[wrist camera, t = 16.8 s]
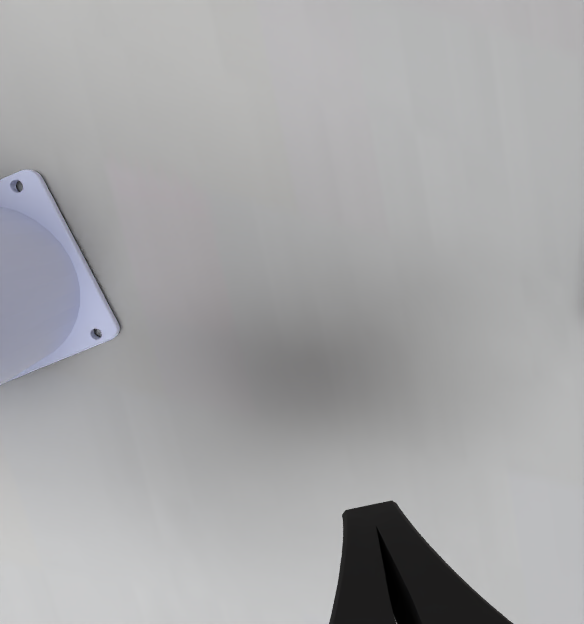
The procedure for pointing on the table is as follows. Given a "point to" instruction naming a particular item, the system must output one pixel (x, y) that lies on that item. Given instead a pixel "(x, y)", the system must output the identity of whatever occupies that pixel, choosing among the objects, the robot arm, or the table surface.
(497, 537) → the table surface
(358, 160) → the table surface
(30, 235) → the robot arm
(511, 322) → the table surface
